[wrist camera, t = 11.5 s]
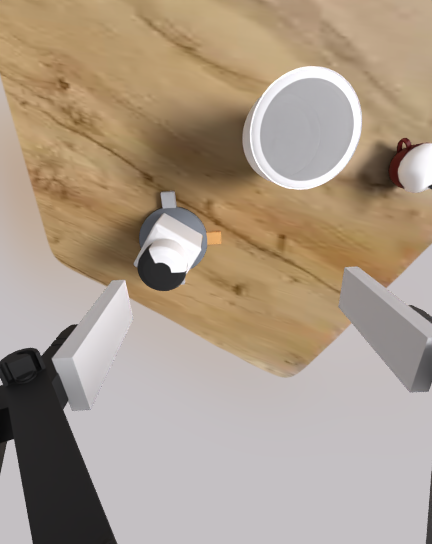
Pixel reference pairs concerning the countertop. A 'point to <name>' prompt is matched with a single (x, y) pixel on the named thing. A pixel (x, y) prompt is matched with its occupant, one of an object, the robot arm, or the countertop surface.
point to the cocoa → (412, 166)
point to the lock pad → (183, 217)
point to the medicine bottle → (168, 254)
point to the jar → (303, 128)
